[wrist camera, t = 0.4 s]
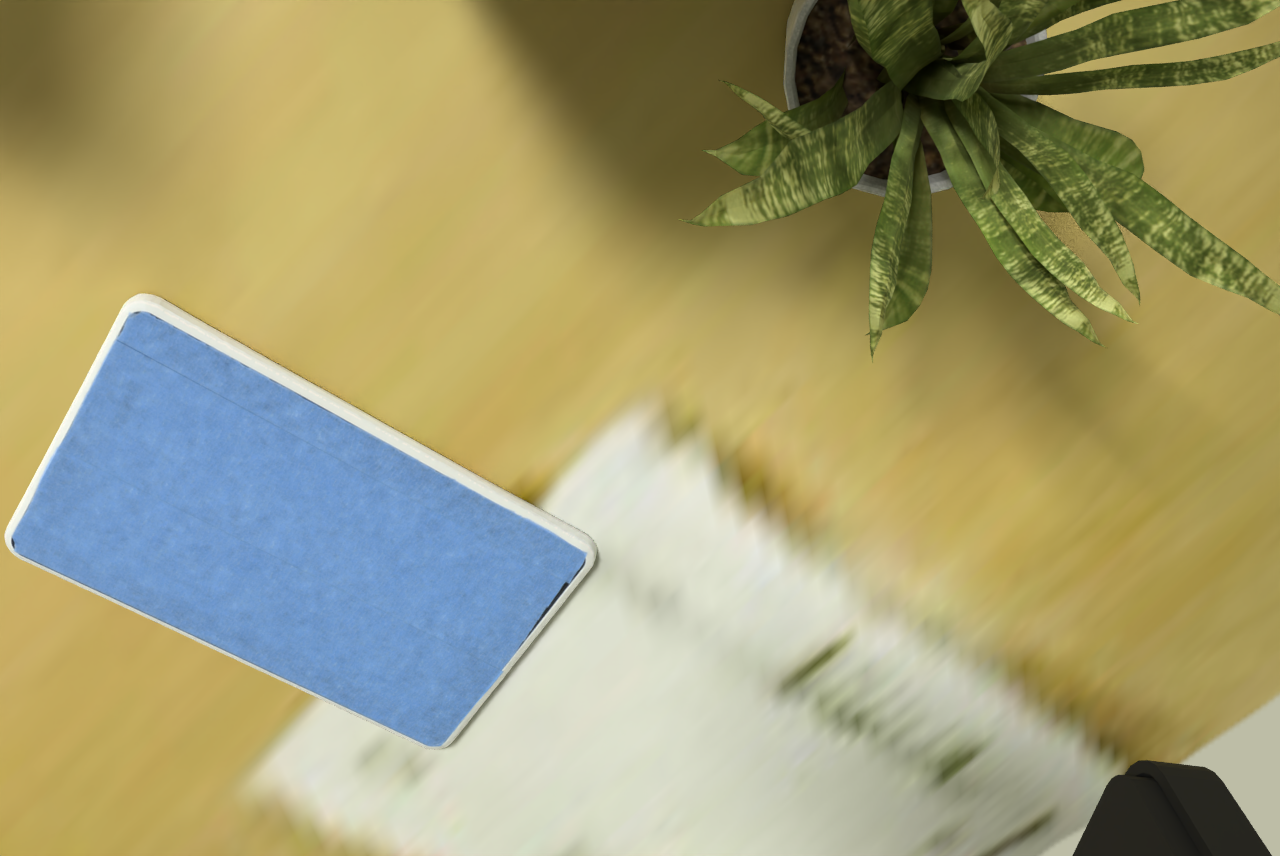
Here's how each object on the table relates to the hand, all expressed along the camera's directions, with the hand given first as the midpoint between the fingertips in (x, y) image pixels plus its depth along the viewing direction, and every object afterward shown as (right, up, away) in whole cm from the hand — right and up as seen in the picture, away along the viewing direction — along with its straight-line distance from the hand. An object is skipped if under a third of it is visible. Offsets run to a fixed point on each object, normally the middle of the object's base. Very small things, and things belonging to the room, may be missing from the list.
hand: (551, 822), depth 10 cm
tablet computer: (-12, -1, +35) cm, 37 cm away
